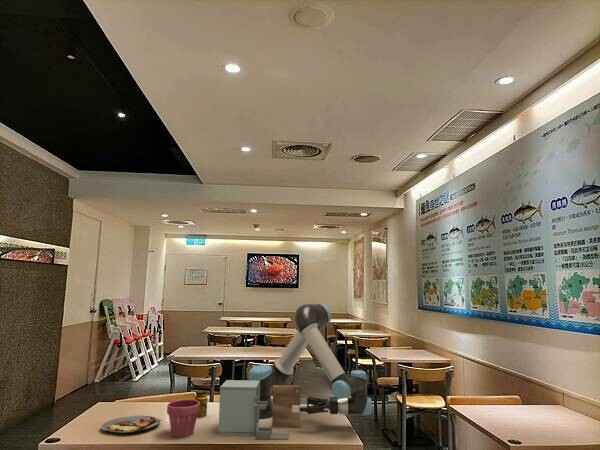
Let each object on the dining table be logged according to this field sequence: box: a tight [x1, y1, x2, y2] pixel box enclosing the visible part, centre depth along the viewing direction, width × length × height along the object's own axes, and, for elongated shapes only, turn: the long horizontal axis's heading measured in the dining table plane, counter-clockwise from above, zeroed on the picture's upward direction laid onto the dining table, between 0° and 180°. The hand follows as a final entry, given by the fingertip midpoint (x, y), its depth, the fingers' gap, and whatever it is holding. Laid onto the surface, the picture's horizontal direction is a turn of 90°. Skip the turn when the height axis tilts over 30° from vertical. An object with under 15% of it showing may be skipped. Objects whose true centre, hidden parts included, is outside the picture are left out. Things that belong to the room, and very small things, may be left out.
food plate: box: [100, 414, 161, 434], centre depth 192 cm, size 25×23×4 cm
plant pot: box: [166, 399, 200, 438], centre depth 185 cm, size 14×14×13 cm
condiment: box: [194, 389, 210, 420], centre depth 210 cm, size 7×8×12 cm
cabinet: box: [218, 379, 290, 441], centre depth 188 cm, size 20×31×20 cm, turn 88°
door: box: [271, 384, 302, 429], centre depth 196 cm, size 4×13×18 cm, turn 88°
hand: (292, 404), depth 196 cm, fingers open, 13 cm apart
